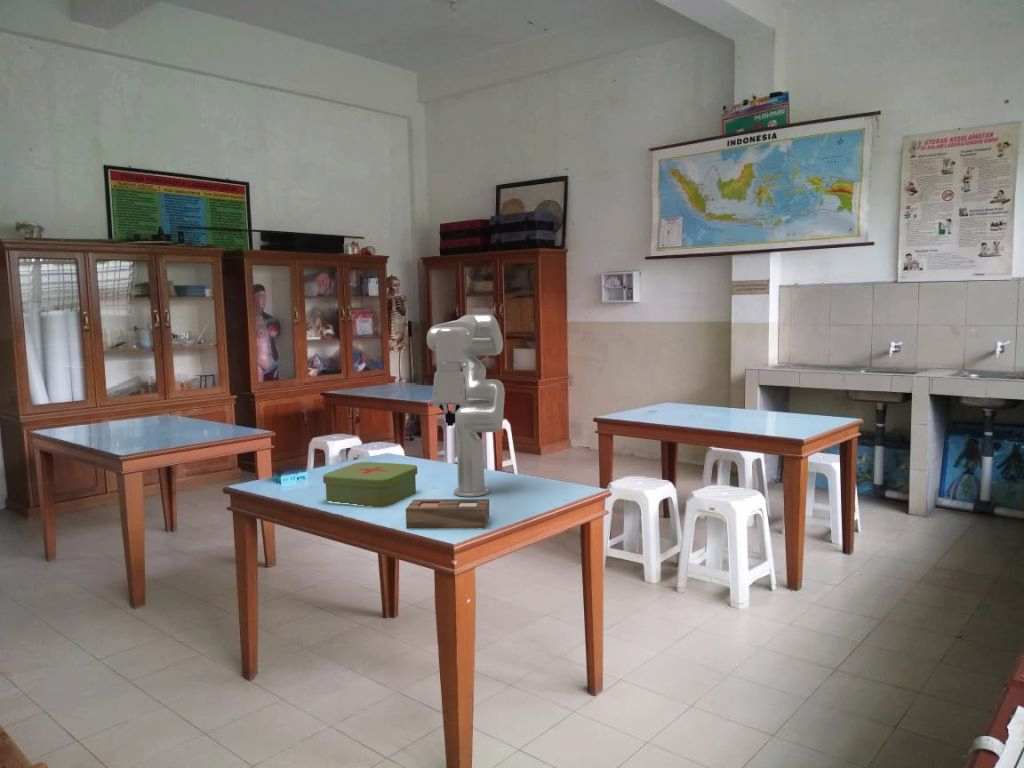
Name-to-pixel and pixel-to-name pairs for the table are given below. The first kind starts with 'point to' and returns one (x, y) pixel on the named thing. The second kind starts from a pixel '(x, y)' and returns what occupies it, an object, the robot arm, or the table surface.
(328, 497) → the first aid kit
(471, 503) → the key ivory
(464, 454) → the robot arm
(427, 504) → the key red
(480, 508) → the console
